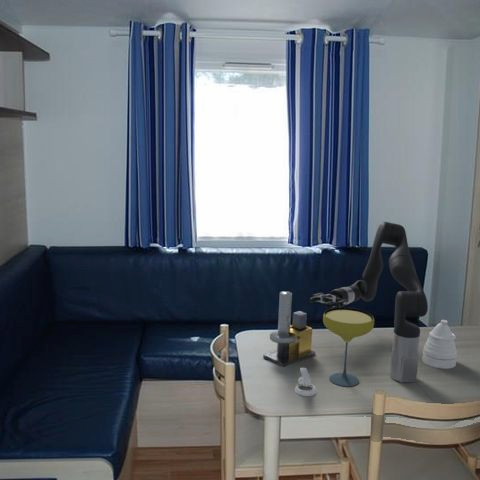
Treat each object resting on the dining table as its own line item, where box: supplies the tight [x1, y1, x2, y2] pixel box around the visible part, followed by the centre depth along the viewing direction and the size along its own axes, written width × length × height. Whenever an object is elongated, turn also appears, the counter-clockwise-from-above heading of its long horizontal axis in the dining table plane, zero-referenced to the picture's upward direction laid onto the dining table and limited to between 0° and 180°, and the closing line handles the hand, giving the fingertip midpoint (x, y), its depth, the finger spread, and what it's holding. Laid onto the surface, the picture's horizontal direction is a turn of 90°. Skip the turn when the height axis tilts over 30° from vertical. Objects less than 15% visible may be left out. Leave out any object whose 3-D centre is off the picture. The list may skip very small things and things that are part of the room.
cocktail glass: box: [322, 307, 375, 388], centre depth 199 cm, size 18×18×25 cm
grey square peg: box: [292, 310, 308, 331], centre depth 223 cm, size 4×4×16 cm
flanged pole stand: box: [262, 291, 316, 368], centre depth 219 cm, size 19×11×27 cm, turn 132°
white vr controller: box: [294, 367, 317, 397], centre depth 190 cm, size 8×12×7 cm
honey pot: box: [421, 319, 458, 369], centre depth 219 cm, size 13×13×18 cm
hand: (318, 303), depth 228 cm, fingers open, 8 cm apart
